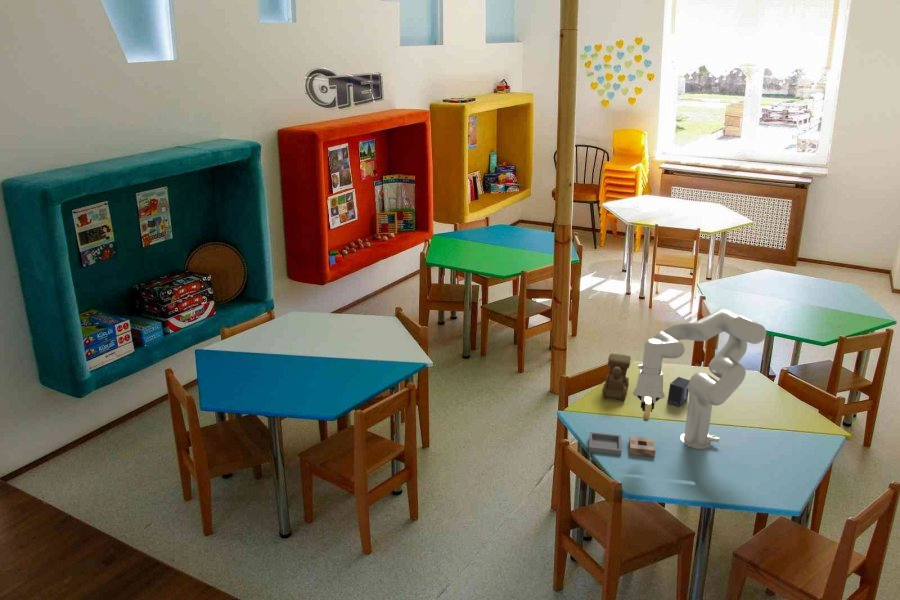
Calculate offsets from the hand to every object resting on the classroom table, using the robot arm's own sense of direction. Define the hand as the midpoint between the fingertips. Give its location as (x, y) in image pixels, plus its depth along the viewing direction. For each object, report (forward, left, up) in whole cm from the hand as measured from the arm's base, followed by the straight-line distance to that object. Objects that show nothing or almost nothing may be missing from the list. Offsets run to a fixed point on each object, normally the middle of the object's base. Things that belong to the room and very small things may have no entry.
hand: (647, 409), depth 318 cm
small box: (-19, -51, -20) cm, 58 cm away
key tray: (+15, 0, -19) cm, 25 cm away
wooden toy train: (+10, -53, -20) cm, 58 cm away
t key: (0, 0, -5) cm, 5 cm away
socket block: (0, 0, -19) cm, 19 cm away
